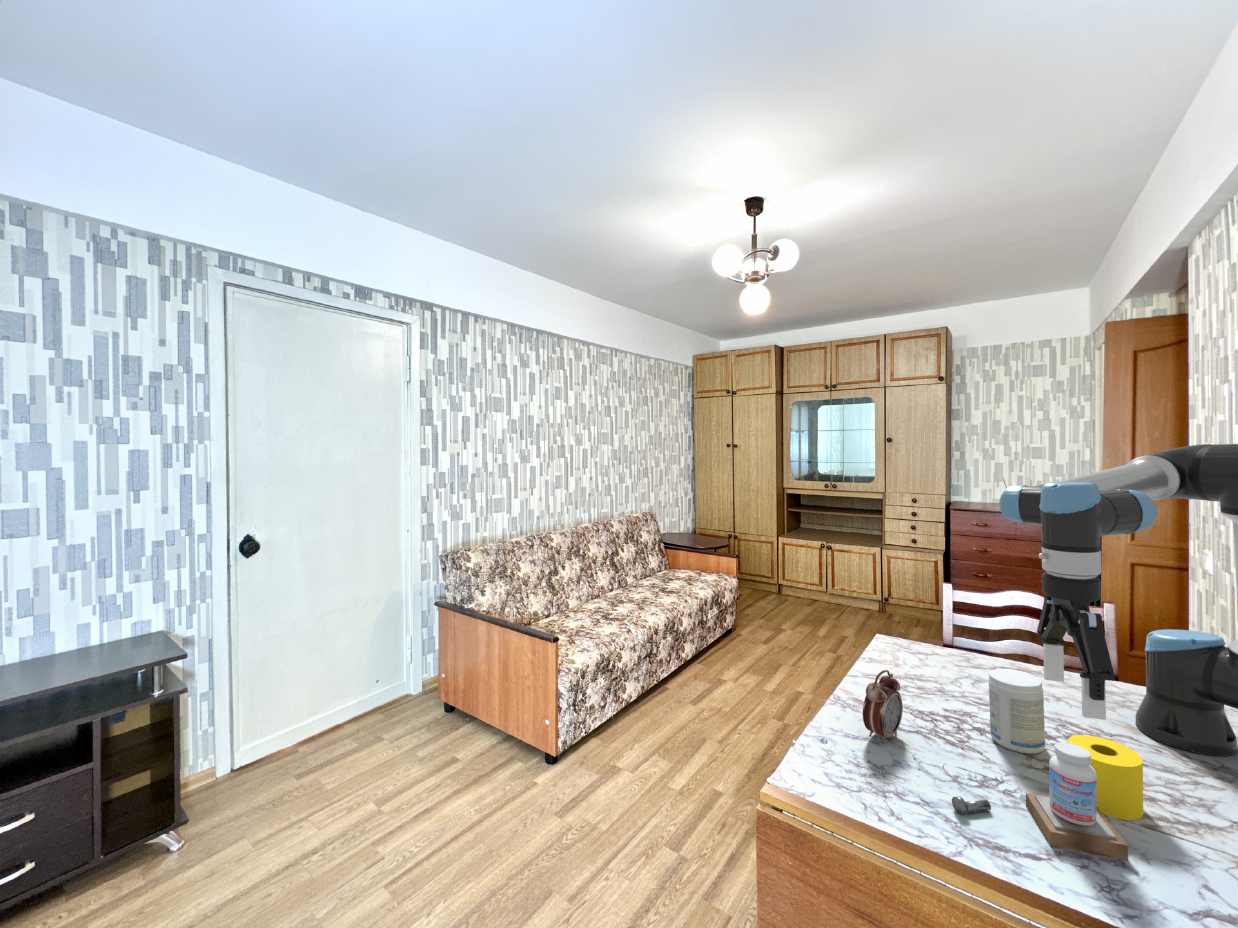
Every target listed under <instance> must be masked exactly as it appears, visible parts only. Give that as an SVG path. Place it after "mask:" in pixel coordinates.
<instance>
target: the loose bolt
mask: <svg viewBox="0 0 1238 928" xmlns="http://www.w3.org/2000/svg"><path fill="white" fill-rule="evenodd" d="M951 804H952V807H953V810H954V811H955V812H956V813H957V814H959V815H966V814H968V813H978V812H987V811H991V810H992V806H991V803H990V802H989V801H988V800H987V799H981V800H971V801H965V800H964V798H963V797H961V796H959V795H958V796H952V797H951Z"/></svg>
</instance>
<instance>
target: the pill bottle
mask: <svg viewBox="0 0 1238 928" xmlns="http://www.w3.org/2000/svg"><path fill="white" fill-rule="evenodd" d="M1054 754H1055V755H1053V756H1052V757H1050V759H1049V778H1048V779H1049V782H1048V783H1049V797H1050V807H1051V809H1052V810H1053V812H1054V813H1055V814H1057V815H1058V816H1059V817H1061V818H1063V819H1064V820H1066V821H1069V822H1071V823H1074V824H1078V825H1083V826H1090V825H1093V824H1095V822H1096V810H1097V809H1096V808H1097V775H1096V772H1095V770H1094V769H1093V767H1092V766H1091V765H1090V764H1091V754H1090V752H1089V751H1087V750H1086V749H1084V748H1083V747H1080V746H1078V745H1075V744H1071V743H1068V742H1066V741H1065V742H1064V741H1062V742H1056V743H1055V744H1054Z"/></svg>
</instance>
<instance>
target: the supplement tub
mask: <svg viewBox="0 0 1238 928" xmlns="http://www.w3.org/2000/svg"><path fill="white" fill-rule="evenodd" d="M988 699H989V700H988V701H989V721H990V722H989V723H990V724H989V725H990V726H989V727H990V736H991V738H992V740H993V741H994V742H995V743H997V744H998V745H999V746H1001V747H1003V748H1005V749H1007V750H1010V751H1013V752H1016V753H1017V752H1018V753H1021V754H1027V755H1030V754H1031V755H1033V754H1034V755H1035V754H1039V753H1042V752H1043V751H1044V750H1045V748H1046V734H1045V705H1044V704H1045V701H1044V688H1043V684H1042V680H1041V679H1040V678H1038V677H1036V676H1035V675H1033V674H1031V673H1028V672H1025V671H1020V670H1015V669H1011V668H998V669H997V668H995V669H993V670H990V671H989V673H988Z"/></svg>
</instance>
